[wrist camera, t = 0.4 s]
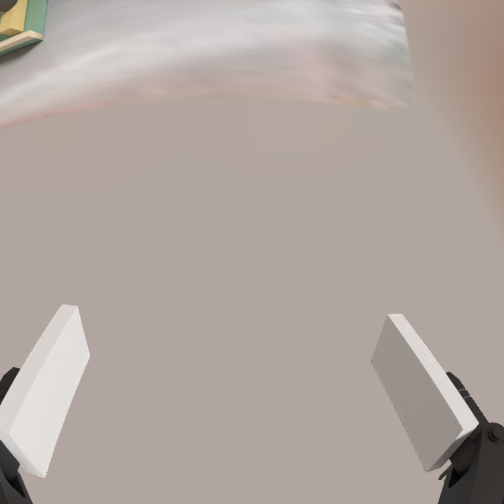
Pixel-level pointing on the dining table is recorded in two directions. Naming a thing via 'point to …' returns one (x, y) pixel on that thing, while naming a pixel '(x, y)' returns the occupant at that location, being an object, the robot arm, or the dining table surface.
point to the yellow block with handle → (12, 16)
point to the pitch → (26, 28)
